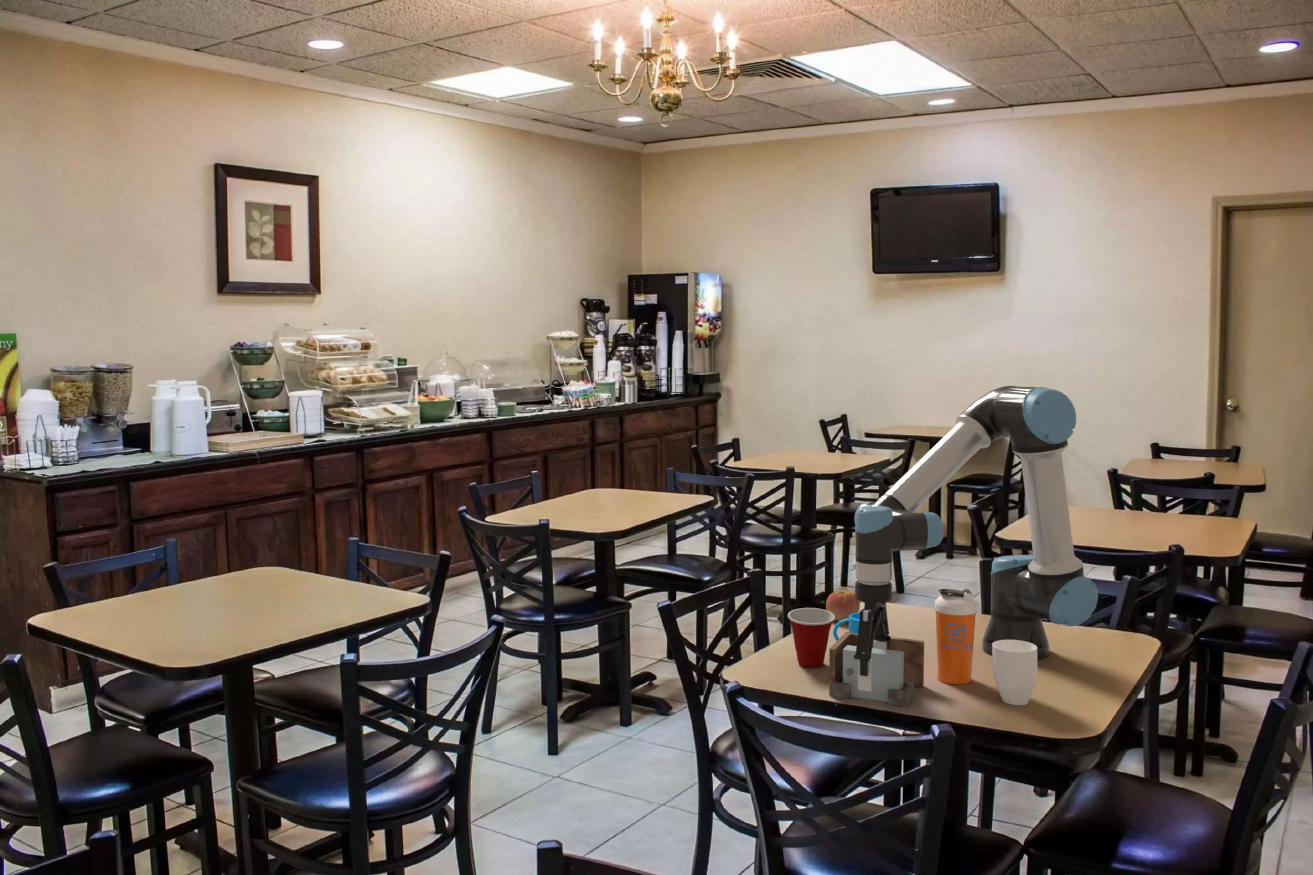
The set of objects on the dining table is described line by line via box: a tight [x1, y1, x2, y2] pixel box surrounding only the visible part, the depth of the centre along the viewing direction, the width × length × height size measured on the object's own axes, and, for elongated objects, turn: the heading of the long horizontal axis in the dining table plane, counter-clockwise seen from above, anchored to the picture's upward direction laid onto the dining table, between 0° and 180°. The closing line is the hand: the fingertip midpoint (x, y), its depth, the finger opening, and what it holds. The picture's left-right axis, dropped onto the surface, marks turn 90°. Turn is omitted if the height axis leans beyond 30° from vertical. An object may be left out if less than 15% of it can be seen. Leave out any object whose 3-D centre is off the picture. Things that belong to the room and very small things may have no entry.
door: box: [843, 645, 904, 703], centre depth 222 cm, size 12×4×10 cm, turn 65°
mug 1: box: [832, 613, 860, 642], centre depth 256 cm, size 12×8×8 cm
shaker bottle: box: [934, 588, 978, 685], centre depth 232 cm, size 9×9×20 cm
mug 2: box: [991, 640, 1038, 706], centre depth 220 cm, size 12×9×12 cm
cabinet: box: [828, 631, 925, 708], centre depth 225 cm, size 17×15×10 cm
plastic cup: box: [787, 607, 835, 669], centre depth 244 cm, size 11×11×12 cm
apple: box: [825, 590, 861, 622], centre depth 281 cm, size 9×9×8 cm
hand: (872, 680), depth 222 cm, fingers open, 13 cm apart
